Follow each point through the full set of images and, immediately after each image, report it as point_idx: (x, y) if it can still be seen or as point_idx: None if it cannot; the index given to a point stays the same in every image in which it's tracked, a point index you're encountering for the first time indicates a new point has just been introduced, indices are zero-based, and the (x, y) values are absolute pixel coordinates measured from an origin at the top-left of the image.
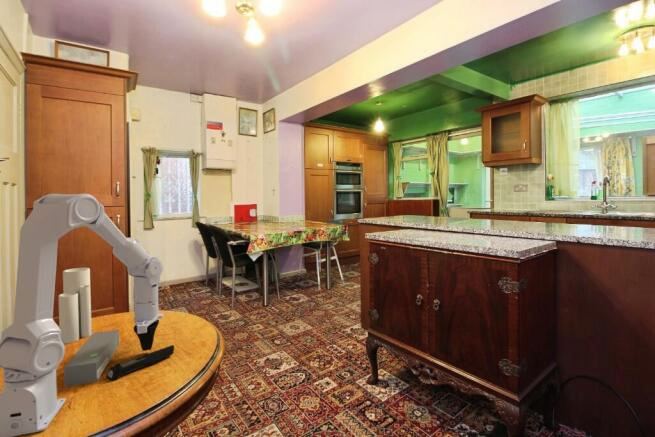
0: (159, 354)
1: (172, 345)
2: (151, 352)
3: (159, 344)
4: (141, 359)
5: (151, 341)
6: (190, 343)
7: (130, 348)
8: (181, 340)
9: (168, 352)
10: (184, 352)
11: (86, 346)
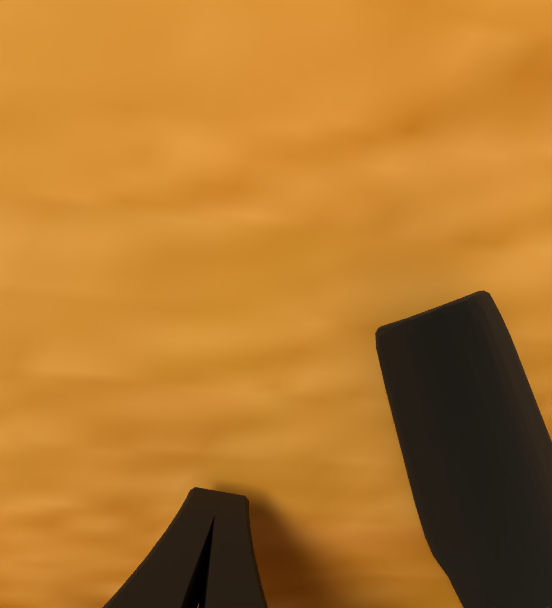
0: (545, 466)
1: (450, 323)
2: (512, 562)
3: (47, 380)
4: (450, 580)
5: (260, 586)
6: (184, 8)
7: (42, 597)
8: (17, 124)
9: (510, 359)
10: (451, 139)
11: None
